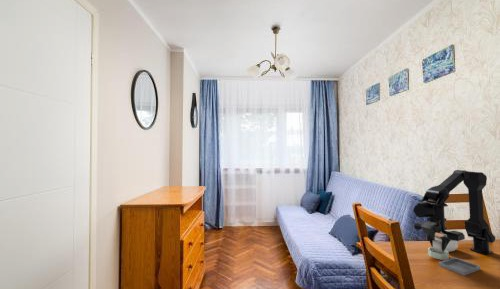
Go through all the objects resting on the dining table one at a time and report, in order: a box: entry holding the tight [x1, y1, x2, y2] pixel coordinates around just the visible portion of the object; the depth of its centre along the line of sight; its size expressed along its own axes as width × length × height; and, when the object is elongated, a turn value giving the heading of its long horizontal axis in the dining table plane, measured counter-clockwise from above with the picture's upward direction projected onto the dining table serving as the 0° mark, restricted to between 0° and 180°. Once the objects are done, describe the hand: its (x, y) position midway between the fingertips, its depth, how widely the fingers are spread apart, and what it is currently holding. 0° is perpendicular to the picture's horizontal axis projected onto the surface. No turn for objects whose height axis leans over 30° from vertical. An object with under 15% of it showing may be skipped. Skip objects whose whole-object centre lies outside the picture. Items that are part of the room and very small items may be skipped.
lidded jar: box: [435, 231, 459, 252], centre depth 117 cm, size 11×11×9 cm
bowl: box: [427, 246, 450, 261], centre depth 109 cm, size 8×8×3 cm
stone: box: [433, 240, 444, 253], centre depth 110 cm, size 4×4×4 cm
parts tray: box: [438, 256, 481, 277], centre depth 99 cm, size 12×9×2 cm
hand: (438, 248), depth 110 cm, fingers closed on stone, 4 cm apart
